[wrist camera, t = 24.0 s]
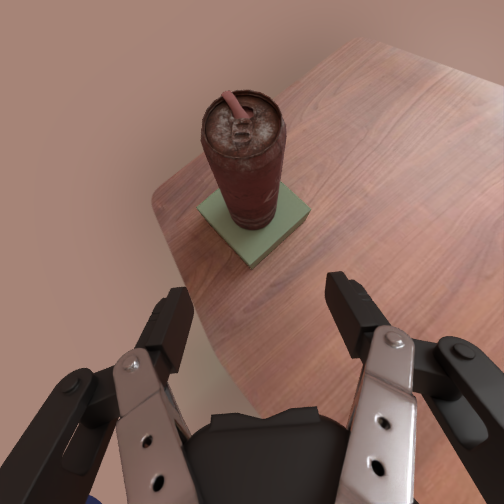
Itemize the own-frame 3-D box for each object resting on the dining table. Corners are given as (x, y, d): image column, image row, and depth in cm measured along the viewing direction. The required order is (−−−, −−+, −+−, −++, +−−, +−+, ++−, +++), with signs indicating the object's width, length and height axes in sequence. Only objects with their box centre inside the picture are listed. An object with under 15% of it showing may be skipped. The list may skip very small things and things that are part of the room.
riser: (251, 269, 29) (249, 265, 25) (204, 218, 31) (195, 207, 28) (305, 220, 30) (311, 209, 26) (256, 174, 33) (255, 157, 29)
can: (257, 179, 28) (250, 67, 14) (285, 214, 27) (307, 127, 13) (220, 204, 27) (177, 112, 14) (247, 240, 26) (229, 178, 12)
